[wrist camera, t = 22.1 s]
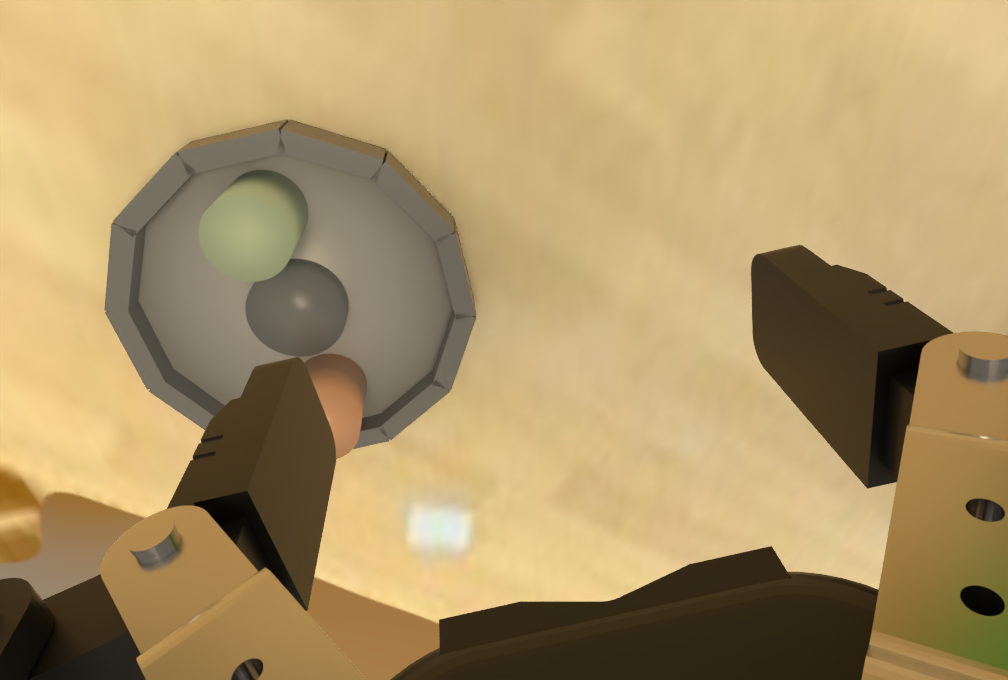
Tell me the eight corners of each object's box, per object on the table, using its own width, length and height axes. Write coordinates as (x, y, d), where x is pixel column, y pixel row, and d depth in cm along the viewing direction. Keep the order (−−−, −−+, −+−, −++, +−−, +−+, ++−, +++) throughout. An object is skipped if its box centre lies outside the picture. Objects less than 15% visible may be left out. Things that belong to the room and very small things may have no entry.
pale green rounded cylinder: (325, 214, 38) (311, 245, 34) (269, 262, 39) (249, 298, 34) (265, 152, 36) (242, 176, 32) (207, 204, 37) (178, 234, 33)
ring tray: (497, 394, 46) (500, 415, 44) (209, 459, 46) (198, 483, 44) (422, 88, 36) (421, 96, 34) (58, 171, 36) (35, 184, 34)
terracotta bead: (381, 386, 43) (376, 431, 39) (332, 424, 44) (321, 473, 40) (331, 340, 42) (319, 383, 37) (281, 381, 43) (263, 427, 38)
